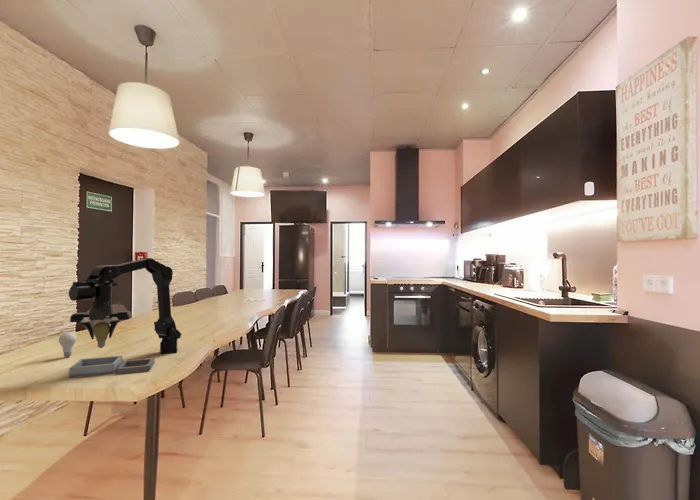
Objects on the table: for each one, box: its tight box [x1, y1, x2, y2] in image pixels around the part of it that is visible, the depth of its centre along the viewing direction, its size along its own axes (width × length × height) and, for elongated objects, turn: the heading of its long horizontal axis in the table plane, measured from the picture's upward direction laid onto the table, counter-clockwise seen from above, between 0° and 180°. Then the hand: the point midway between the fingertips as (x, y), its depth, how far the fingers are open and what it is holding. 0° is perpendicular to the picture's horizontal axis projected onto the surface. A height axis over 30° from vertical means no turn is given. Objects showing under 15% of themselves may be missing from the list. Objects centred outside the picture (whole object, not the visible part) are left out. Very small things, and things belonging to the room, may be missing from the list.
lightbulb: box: [58, 331, 78, 358], centre depth 152 cm, size 6×6×11 cm
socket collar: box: [116, 357, 156, 375], centre depth 139 cm, size 11×11×2 cm
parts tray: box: [68, 355, 123, 379], centre depth 135 cm, size 14×12×4 cm
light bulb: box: [93, 321, 111, 349], centre depth 136 cm, size 6×6×10 cm
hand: (101, 338), depth 136 cm, fingers closed on light bulb, 5 cm apart
